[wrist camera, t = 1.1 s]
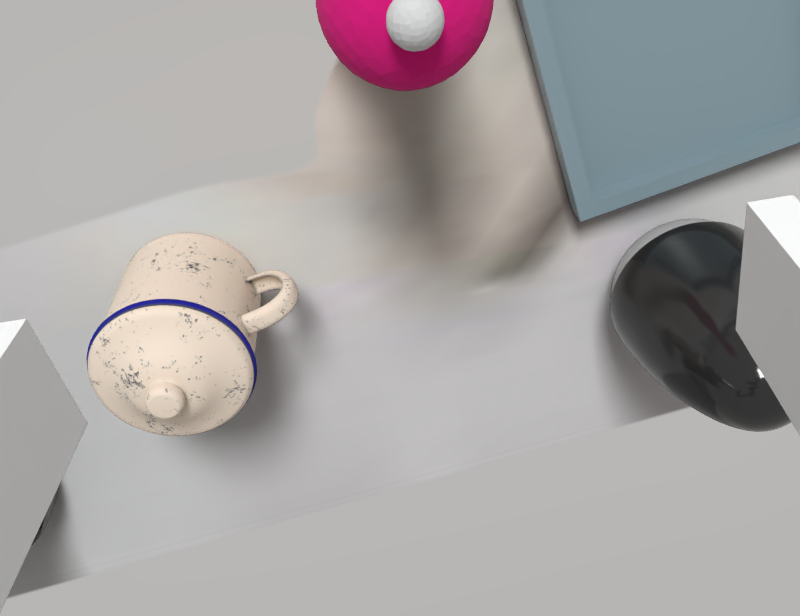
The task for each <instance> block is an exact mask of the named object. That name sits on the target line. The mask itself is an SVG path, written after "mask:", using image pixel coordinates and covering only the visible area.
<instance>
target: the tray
mask: <svg viewBox="0 0 800 616" xmlns="http://www.w3.org/2000/svg"><path fill="white" fill-rule="evenodd" d="M516 2H517V6H518V10H519V13H520V17H521V21H522V25H523V28H524V32H525V36H526V40H527V43H528V47H529V51H530V55H531V58H532V62H533V66H534V69H535V73H536V77H537V81H538V84H539V88H540V92H541V96H542V99H543V103H544V107H545V111H546V114H547V118H548V122H549V126H550V129H551V133H552V137H553V140H554V144H555V148H556V152H557V155H558V159H559V163H560V167H561V170H562V174H563V178H564V182H565V185H566V189H567V193H568V197H569V200H570V204H571V208H572V209H573V211H574V213H575V214H576V216H577V217H578V219H579V220H580V222H582V221H585V220H588V219H591V218H593V217H596V216H599V215H601V214H604V213H607V212H610V211H612V210H615V209H618V208H621V207H623V206H626V205H629V204H632V203H634V202H637V201H640V200H643V199H645V198H648V197H651V196H654V195H656V194H659V193H662V192H665V191H667V190H670V189H673V188H676V187H678V186H681V185H684V184H687V183H689V182H692V181H695V180H698V179H700V178H703V177H706V176H709V175H711V174H714V173H717V172H720V171H722V170H725V169H728V168H731V167H733V166H736V165H739V164H742V163H744V162H747V161H750V160H752V159H755V158H758V157H761V156H763V155H766V154H769V153H772V152H774V151H777V150H780V149H783V148H785V147H788V146H791V145H794V144H796V143H799V142H800V0H516Z"/></svg>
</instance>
